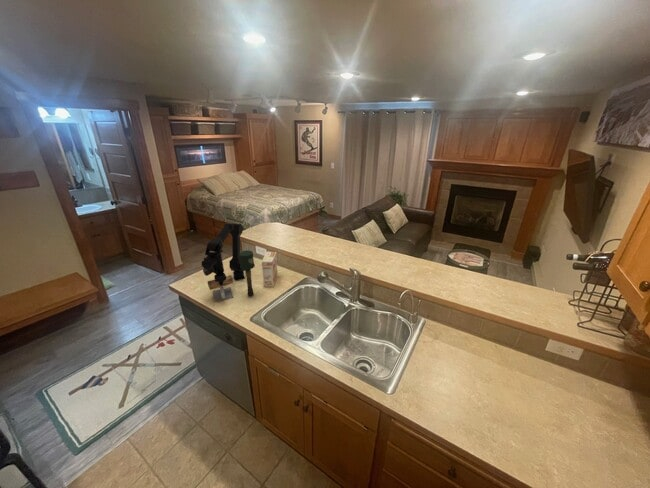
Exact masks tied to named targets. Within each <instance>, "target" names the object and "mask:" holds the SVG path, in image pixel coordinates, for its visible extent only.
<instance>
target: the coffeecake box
mask: <svg viewBox="0 0 650 488" xmlns="http://www.w3.org/2000/svg"><path fill="white" fill-rule="evenodd" d="M261 267H262V268H261V269H262V279H263V282H262V283H263V288H275V285H276V282H277V279H278V277H279V276H278V275H279V274H278V260H277V251H266V253H265V254H264V257H263V258H262V260H261Z"/></svg>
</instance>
